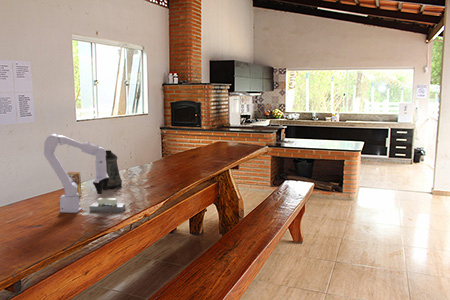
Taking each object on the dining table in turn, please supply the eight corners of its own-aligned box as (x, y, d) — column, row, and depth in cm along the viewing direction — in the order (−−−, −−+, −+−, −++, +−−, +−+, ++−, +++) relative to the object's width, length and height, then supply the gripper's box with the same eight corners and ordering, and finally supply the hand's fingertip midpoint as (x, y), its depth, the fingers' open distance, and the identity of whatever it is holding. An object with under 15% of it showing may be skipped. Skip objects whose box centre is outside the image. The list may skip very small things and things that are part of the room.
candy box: (81, 194, 254) (80, 171, 252) (80, 196, 250) (78, 172, 248) (67, 195, 253) (65, 171, 251) (65, 197, 249) (63, 173, 247)
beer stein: (121, 182, 285) (120, 148, 281) (123, 189, 267) (122, 152, 263) (96, 184, 280) (95, 149, 276) (97, 191, 262) (95, 154, 258)
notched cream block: (98, 210, 224) (97, 199, 223) (100, 208, 227) (99, 197, 226) (115, 211, 223) (115, 199, 222) (117, 209, 226) (117, 198, 225)
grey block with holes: (89, 211, 222) (89, 206, 222) (94, 207, 229) (94, 202, 229) (121, 212, 221) (121, 207, 221) (125, 208, 228) (125, 203, 227)
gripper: (103, 171, 217) (104, 195, 219) (112, 166, 231) (113, 188, 234) (90, 171, 218) (91, 195, 220) (100, 165, 232) (101, 188, 234)
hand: (102, 192), depth 227 cm, fingers open, 7 cm apart
